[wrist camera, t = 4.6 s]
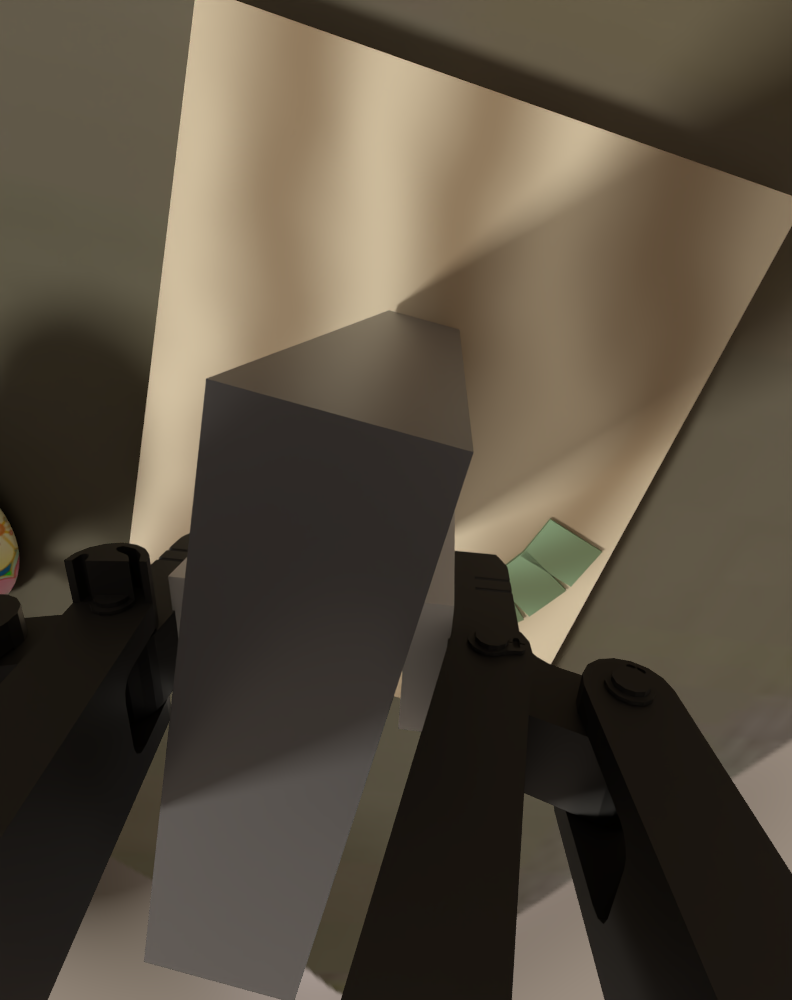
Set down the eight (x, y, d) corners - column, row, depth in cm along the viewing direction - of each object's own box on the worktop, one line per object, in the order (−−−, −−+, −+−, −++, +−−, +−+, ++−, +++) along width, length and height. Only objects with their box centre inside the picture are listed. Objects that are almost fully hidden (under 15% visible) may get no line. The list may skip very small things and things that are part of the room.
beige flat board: (138, 591, 27) (119, 610, 25) (216, 10, 17) (194, -16, 16) (509, 711, 27) (512, 736, 26) (778, 207, 18) (808, 199, 16)
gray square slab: (316, 623, 24) (131, 1072, 10) (389, 310, 19) (205, 378, 5) (370, 637, 24) (259, 1107, 10) (459, 329, 19) (472, 451, 5)
